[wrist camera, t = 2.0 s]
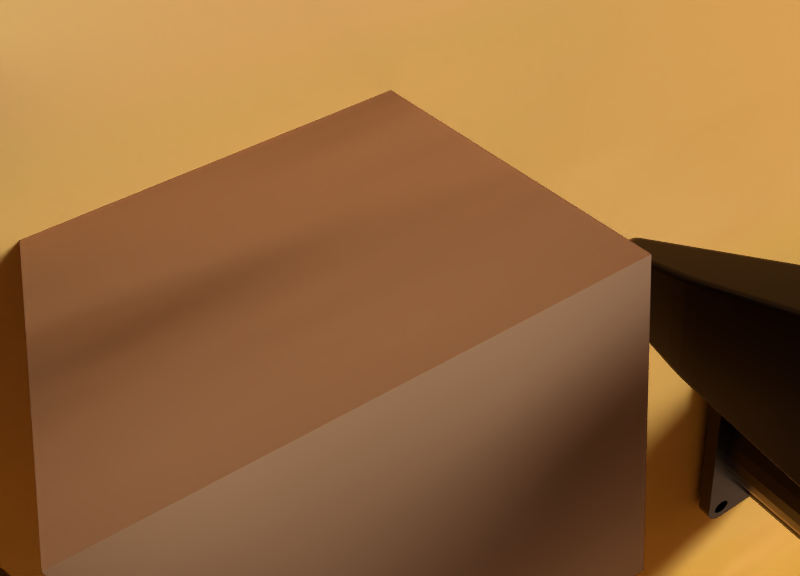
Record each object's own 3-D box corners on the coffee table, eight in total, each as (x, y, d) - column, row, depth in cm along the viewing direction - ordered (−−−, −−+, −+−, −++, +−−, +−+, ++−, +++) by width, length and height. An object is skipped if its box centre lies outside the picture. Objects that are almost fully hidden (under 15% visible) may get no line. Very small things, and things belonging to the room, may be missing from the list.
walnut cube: (447, 350, 14) (643, 570, 10) (183, 486, 12) (279, 809, 8) (388, 88, 10) (650, 254, 6) (19, 237, 9) (42, 572, 5)
